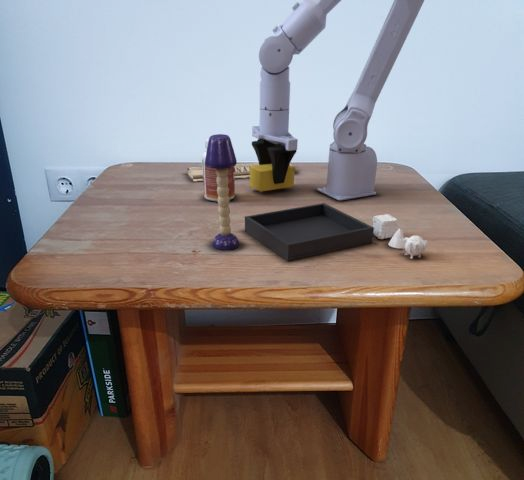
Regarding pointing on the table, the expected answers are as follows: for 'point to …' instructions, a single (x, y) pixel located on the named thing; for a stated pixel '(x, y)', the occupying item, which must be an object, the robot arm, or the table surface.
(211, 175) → the pill bottle
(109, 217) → the table surface
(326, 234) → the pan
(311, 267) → the table surface
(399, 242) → the game pieces
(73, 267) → the table surface
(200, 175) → the newspaper
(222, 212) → the toy lamp
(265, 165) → the sponge
